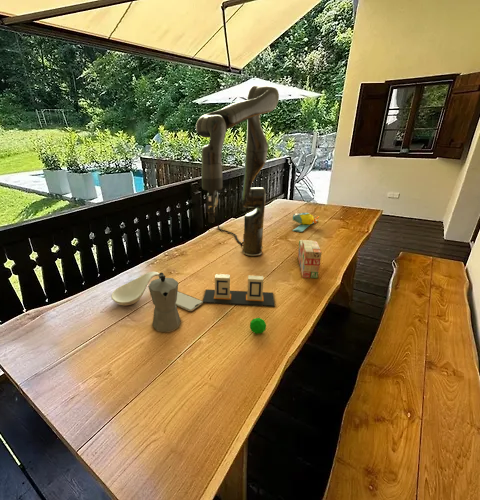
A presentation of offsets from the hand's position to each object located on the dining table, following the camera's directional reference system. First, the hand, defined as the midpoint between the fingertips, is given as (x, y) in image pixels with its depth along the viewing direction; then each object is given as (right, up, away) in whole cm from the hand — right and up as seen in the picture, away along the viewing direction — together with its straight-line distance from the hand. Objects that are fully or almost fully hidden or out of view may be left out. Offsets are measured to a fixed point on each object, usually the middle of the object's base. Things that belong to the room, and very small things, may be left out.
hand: (212, 218), depth 114 cm
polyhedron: (+14, -38, -20) cm, 45 cm away
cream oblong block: (+4, -29, -1) cm, 30 cm away
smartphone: (-12, -31, -2) cm, 33 cm away
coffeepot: (-16, -36, -14) cm, 42 cm away
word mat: (+10, -30, -1) cm, 32 cm away
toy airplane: (+60, +4, +78) cm, 98 cm away
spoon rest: (-28, -30, +3) cm, 41 cm away
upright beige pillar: (+16, -30, -2) cm, 34 cm away
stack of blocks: (+43, -20, +22) cm, 53 cm away
